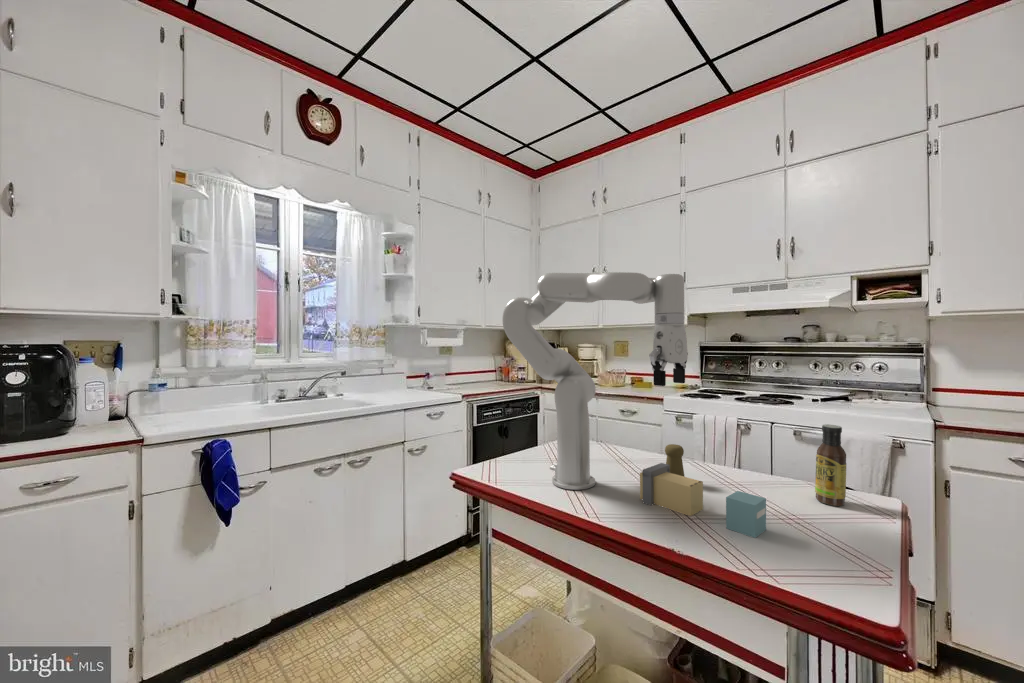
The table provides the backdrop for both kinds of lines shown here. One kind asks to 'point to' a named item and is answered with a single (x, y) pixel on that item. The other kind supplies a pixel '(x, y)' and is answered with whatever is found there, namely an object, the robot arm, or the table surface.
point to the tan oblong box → (671, 490)
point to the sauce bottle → (831, 468)
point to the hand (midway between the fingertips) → (669, 384)
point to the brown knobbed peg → (675, 459)
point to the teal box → (746, 513)
